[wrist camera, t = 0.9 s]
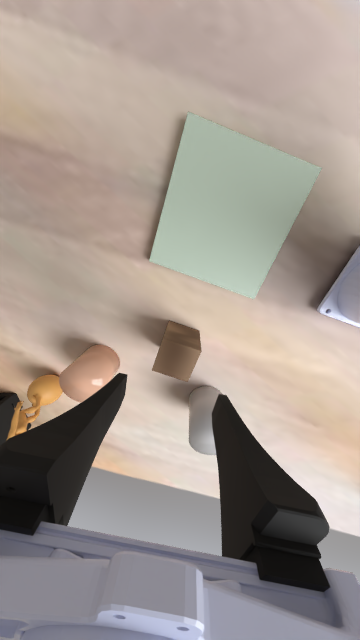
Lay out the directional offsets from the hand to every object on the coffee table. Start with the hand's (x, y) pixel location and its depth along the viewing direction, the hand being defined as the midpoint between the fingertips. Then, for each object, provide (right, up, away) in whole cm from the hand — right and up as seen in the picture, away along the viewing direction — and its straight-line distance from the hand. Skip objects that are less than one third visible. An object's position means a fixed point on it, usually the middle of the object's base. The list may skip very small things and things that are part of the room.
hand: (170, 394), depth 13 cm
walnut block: (+1, +3, +9) cm, 10 cm away
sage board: (+5, +16, +4) cm, 17 cm away
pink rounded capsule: (-10, 0, +11) cm, 15 cm away
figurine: (-17, -4, +13) cm, 21 cm away
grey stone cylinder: (+5, -6, +12) cm, 14 cm away
